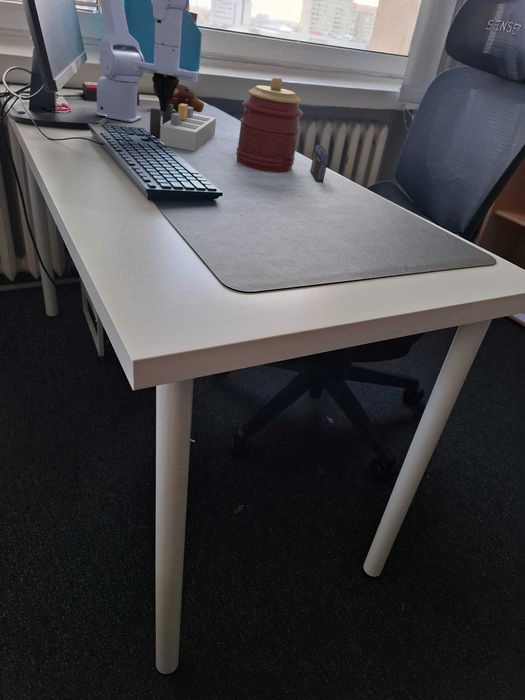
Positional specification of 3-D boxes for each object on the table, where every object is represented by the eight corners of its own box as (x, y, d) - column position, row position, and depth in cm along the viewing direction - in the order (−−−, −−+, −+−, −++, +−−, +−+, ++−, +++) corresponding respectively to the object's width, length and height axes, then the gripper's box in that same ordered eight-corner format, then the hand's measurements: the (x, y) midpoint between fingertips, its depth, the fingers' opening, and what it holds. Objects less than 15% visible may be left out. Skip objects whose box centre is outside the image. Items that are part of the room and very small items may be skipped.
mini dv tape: (310, 172, 116) (315, 144, 113) (316, 173, 116) (322, 145, 113) (316, 182, 109) (322, 153, 106) (322, 183, 109) (329, 154, 106)
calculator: (81, 80, 152) (133, 83, 157) (83, 96, 154) (133, 99, 159) (85, 86, 143) (139, 90, 149) (86, 103, 146) (139, 106, 151)
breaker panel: (159, 144, 115) (161, 115, 112) (184, 128, 133) (186, 103, 130) (194, 151, 115) (196, 122, 112) (214, 134, 133) (217, 109, 130)
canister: (225, 155, 116) (235, 68, 106) (275, 157, 122) (288, 75, 112) (251, 173, 107) (264, 79, 97) (303, 174, 113) (320, 86, 103)
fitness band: (75, 115, 128) (75, 108, 127) (52, 114, 124) (51, 108, 124) (61, 107, 133) (61, 101, 132) (38, 107, 129) (38, 100, 128)
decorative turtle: (153, 106, 153) (157, 76, 149) (203, 118, 155) (208, 90, 151) (147, 109, 145) (150, 78, 141) (199, 122, 146) (204, 92, 142)
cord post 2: (160, 130, 127) (162, 103, 124) (163, 128, 129) (164, 102, 126) (170, 131, 127) (171, 105, 124) (172, 130, 129) (174, 104, 126)
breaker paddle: (177, 118, 121) (178, 104, 119) (180, 116, 123) (181, 103, 121) (183, 119, 121) (184, 106, 119) (187, 118, 123) (187, 104, 121)
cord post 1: (148, 137, 119) (149, 109, 116) (151, 135, 121) (152, 107, 118) (158, 139, 119) (159, 111, 116) (161, 137, 121) (162, 109, 118)
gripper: (129, 39, 111) (128, 107, 118) (194, 51, 110) (190, 118, 118) (140, 38, 117) (139, 103, 124) (202, 50, 116) (197, 114, 124)
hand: (164, 110), depth 121 cm, fingers closed
